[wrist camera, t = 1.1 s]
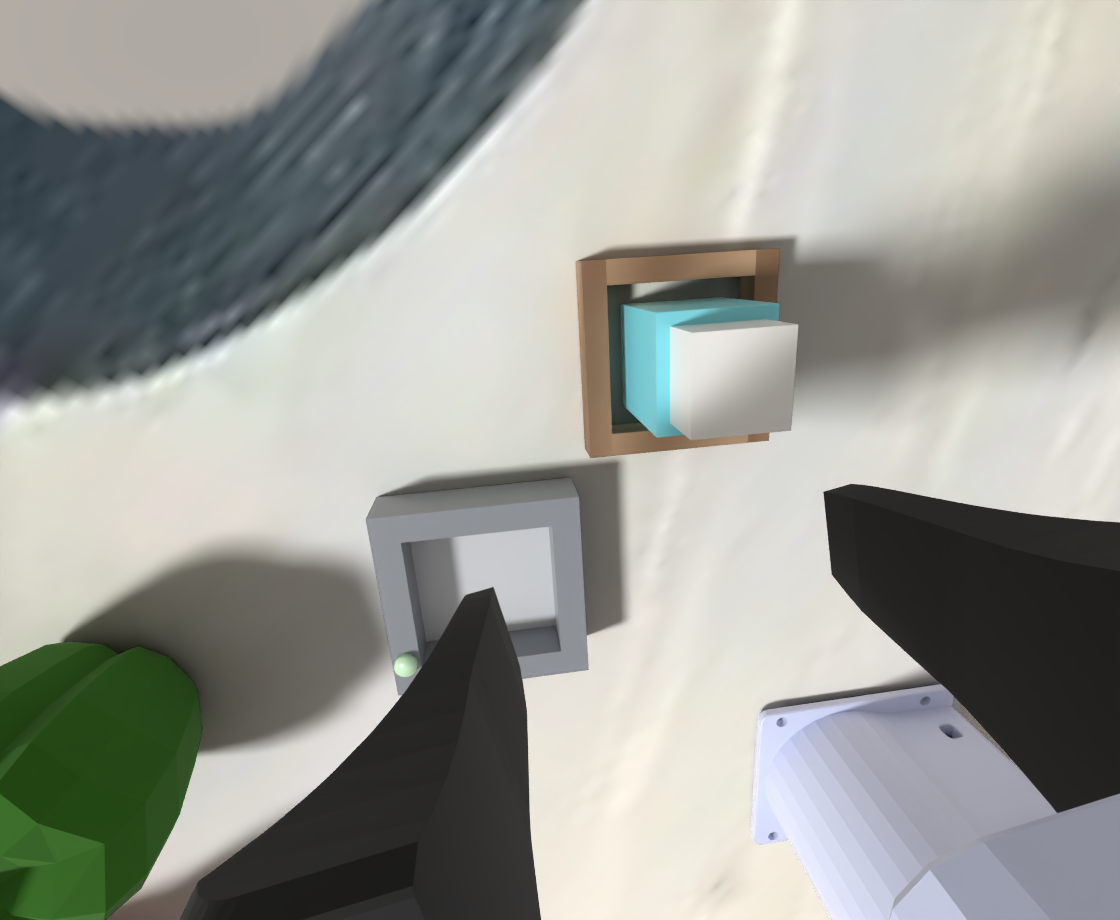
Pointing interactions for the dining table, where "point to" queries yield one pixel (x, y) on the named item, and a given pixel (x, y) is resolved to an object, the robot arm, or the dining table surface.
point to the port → (483, 570)
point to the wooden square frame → (594, 336)
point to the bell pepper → (89, 775)
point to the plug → (708, 367)
